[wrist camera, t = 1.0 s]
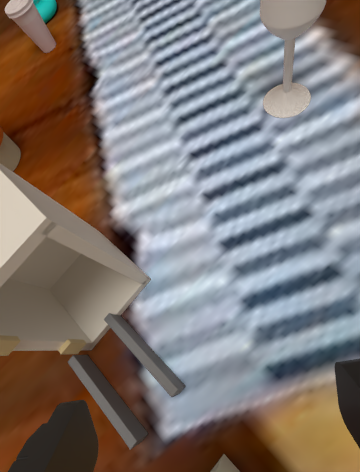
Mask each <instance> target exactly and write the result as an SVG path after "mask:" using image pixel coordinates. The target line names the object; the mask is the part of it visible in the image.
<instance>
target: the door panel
mask: <svg viewBox="0 0 360 472" xmlns="http://www.w3.org/2000/svg"><path fill="white" fill-rule="evenodd" d="M211 472H240V471H239V470H238V469H237V468H236V467H235V465H234V464H233V463H232V462H231V461H230V460H229V459H228V457H227V456H226V455H225V454H223V456H222V457H221V458H220V460H219V461H218V462H217V464H216V465H215V466H214V468H213V469H212V470H211Z"/></svg>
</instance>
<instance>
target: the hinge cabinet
mask: <svg viewBox="0 0 360 472" xmlns="http://www.w3.org/2000/svg"><path fill="white" fill-rule="evenodd" d="M150 280H151V278H149V277H148V276H147V275H146V274H145V273H144V272H143V271H142V270H141V269H140V268H139V267H137V266H136V265H135V264H134V263H133V262H132V261H131V260H130V259H129V258H128V257H127V256H126V255H124V254H123V253H122V252H121V251H120V250H119V249H118V248H117V247H116V246H115V245H114V244H112V243H111V242H110V241H109V240H108V239H107V238H106V237H105V236H104V235H103V234H102V233H100V232H99V231H98V230H96V229H95V228H94V227H92V226H91V225H89V224H88V223H86V222H85V221H83V220H82V219H80V218H79V217H78V216H76V215H75V214H73V213H72V212H70V211H69V210H67V209H66V208H64V207H63V206H62V205H60V204H59V203H57V202H56V201H54V200H53V199H51V198H50V197H48V196H47V195H45V194H44V193H43V192H41V191H40V190H38V189H37V188H35V187H34V186H32V185H31V184H29V183H28V182H27V181H25V180H24V179H22V178H21V177H19V176H18V175H16V174H15V173H13V172H12V171H11V170H9V169H8V168H6V167H5V166H3V165H2V164H0V356H8V355H9V354H10V353H11V351H36V350H58V351H59V352H60V354H78V353H79V352H80V351H81V350H92V349H93V348H94V347H95V345H96V344H97V343H98V342H99V341H100V339H101V338H102V337H103V336H104V335H105V334H106V332H107V331H108V330H109V329H110V328H111V329H112V330H113V331H114V332H115V333H116V334H117V335H118V337H119V338H120V339H121V340H122V341H123V342H124V343H125V345H126V346H127V347H128V348H129V349H130V350H131V351H132V353H133V354H134V355H135V356H136V357H137V358H138V359H139V361H140V362H141V363H142V364H143V365H144V366H145V367H146V369H147V370H148V371H149V372H150V373H151V374H152V375H153V377H154V378H155V379H156V380H157V381H158V382H159V383H160V385H161V386H162V387H163V388H164V389H165V390H166V391H167V393H168V394H169V395H170V396H171V397H173V396H175V395H178V394H180V393H181V391H182V390H183V389H184V388H185V385H184V384H183V383H182V382H181V381H180V380H179V379H178V377H177V376H176V375H175V374H174V373H173V372H172V371H171V370H170V369H169V368H168V367H167V365H166V364H165V363H164V362H163V361H162V360H161V359H160V358H159V357H158V356H157V355H156V354H155V352H154V351H153V350H152V349H151V348H150V347H149V346H148V345H147V344H146V343H145V342H144V341H143V339H142V338H141V337H140V336H139V335H138V334H137V333H136V332H135V331H134V330H133V329H132V328H131V326H130V325H129V324H128V323H127V322H126V321H125V320H124V319H123V318H122V317H121V314H122V313H123V312H124V311H125V310H126V309H127V307H128V306H129V305H130V304H131V303H132V301H133V300H134V299H135V298H136V297H137V295H138V294H139V293H140V292H141V291H142V290H143V288H144V287H145V286H146V285H147V284H148V282H149V281H150ZM68 363H69V365H70V366H71V367H72V369H73V370H74V372H75V373H76V374H77V376H78V377H79V379H80V380H81V381H82V383H83V384H84V386H85V387H86V388H87V390H88V391H89V392H90V394H91V395H92V397H93V398H94V399H95V401H96V402H97V404H98V405H99V406H100V408H101V409H102V411H103V412H104V413H105V415H106V416H107V418H108V419H109V420H110V422H111V423H112V425H113V426H114V427H115V429H116V430H117V431H118V433H119V434H120V436H121V437H122V438H123V440H124V441H125V443H126V444H127V445H128V447H129V448H130V449H132V448H133V447H135V446H136V445H137V444H139V443H140V442H142V441H143V440H144V438H145V437H146V436H147V434H148V433H147V431H146V430H145V429H144V427H143V426H142V425H141V424H140V422H139V421H138V420H137V418H136V417H135V416H134V414H133V413H132V412H131V411H130V409H129V408H128V407H127V405H126V404H125V403H124V401H123V400H122V399H121V398H120V396H119V395H118V394H117V392H116V391H115V390H114V389H113V387H112V386H111V385H110V383H109V382H108V381H107V379H106V378H105V377H104V376H103V374H102V373H101V372H100V370H99V369H98V368H97V367H96V365H95V364H94V363H93V361H92V360H91V359H90V357H89V356H88V355H73V356H72V357H71V358H70V360H69V361H68Z"/></svg>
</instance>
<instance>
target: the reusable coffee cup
mask: <svg viewBox="0 0 360 472" xmlns="http://www.w3.org/2000/svg"><path fill="white" fill-rule="evenodd" d="M20 156H21V152H20V149H19V148H18V146H17V145H16V144H15V143H14V142H13V141H12V140H11V139H10V138H9V137H8V136H7V135H6V134H5V133H4V132H3V129H2V127H1V126H0V164H2V165H3V166H5V167H6V168H8V169H9V170H11V171H12V172H13V171H14V170H15V168H16V167H17V165H18V163H19V160H20Z"/></svg>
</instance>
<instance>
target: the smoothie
mask: <svg viewBox="0 0 360 472" xmlns="http://www.w3.org/2000/svg"><path fill="white" fill-rule="evenodd" d="M5 13H6V14H7V15H8V17H9V18H11V19H13V20H14V21H15V22H16V23H17V25H19V27H20V28H21V29H22V30H23V31H24V32H25V33H26V34H27V35H28V36H29V37H30V38H31V39H32V40H33V41H34V42H35V44H36V45H37V46H38V47H39V48H40V49H41V50H42V51H43V52H44V53H48V52H50V51H52V50H53V49H54V48H55V46H56V42H55V40H54V39H53V37H52V35H51V33H50V32H49V30H48V28H47V26H46V24H45V23H44V21H43V19H42V17H41V15H40V14H39V12H38V10H37V8H36V7H35V5H34V3H33V0H10V1H9V3H8V4H7V5H6V7H5Z"/></svg>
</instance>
